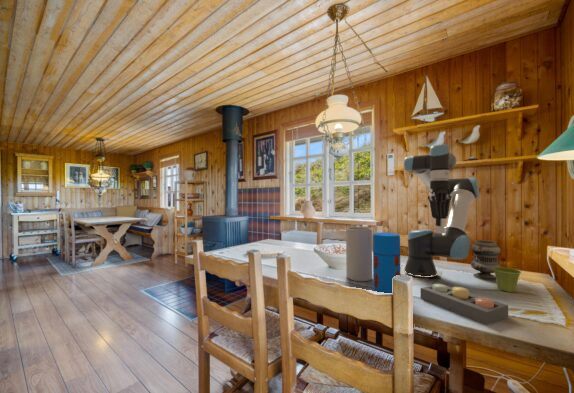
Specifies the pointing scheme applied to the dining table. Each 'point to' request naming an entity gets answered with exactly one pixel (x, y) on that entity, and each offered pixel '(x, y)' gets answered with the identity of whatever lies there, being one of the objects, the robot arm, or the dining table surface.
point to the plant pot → (506, 278)
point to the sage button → (440, 287)
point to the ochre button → (460, 293)
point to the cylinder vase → (359, 253)
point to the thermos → (385, 260)
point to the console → (465, 305)
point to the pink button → (484, 303)
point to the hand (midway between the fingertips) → (440, 233)
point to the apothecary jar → (485, 258)
